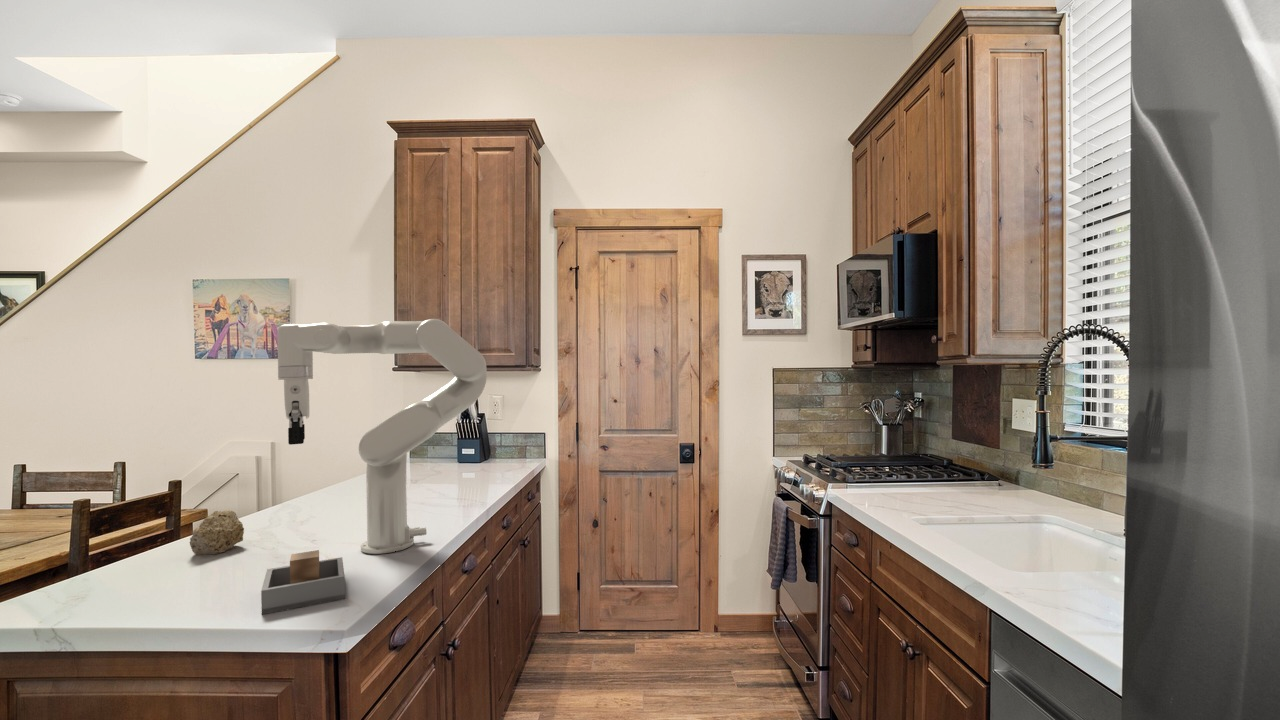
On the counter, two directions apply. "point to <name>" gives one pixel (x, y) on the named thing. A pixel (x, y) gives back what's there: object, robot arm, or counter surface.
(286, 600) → the bin
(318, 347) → the robot arm
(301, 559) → the walnut block
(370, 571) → the counter surface
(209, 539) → the rock
